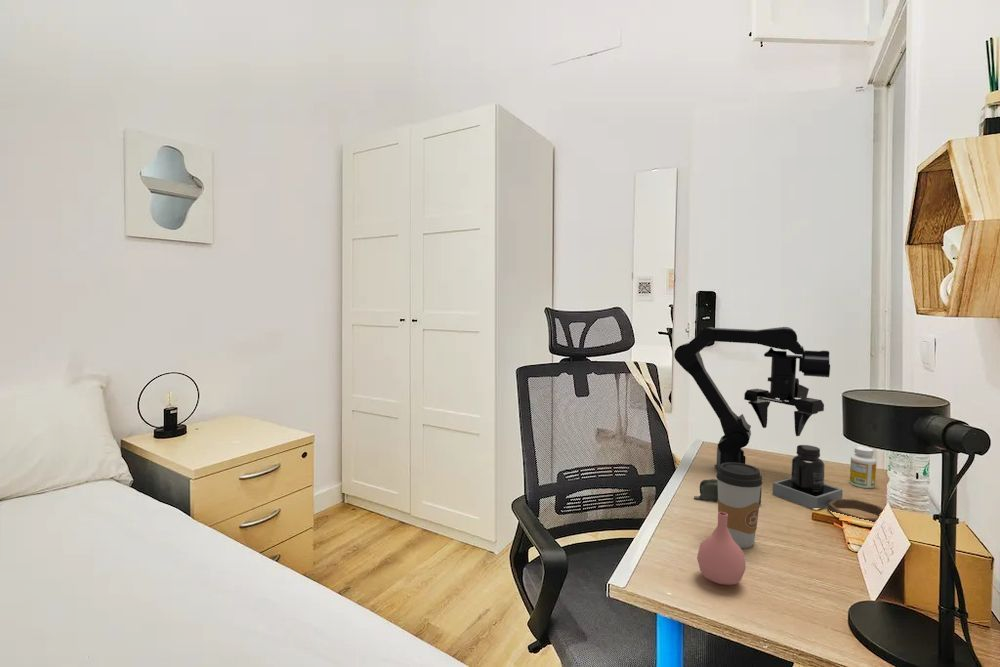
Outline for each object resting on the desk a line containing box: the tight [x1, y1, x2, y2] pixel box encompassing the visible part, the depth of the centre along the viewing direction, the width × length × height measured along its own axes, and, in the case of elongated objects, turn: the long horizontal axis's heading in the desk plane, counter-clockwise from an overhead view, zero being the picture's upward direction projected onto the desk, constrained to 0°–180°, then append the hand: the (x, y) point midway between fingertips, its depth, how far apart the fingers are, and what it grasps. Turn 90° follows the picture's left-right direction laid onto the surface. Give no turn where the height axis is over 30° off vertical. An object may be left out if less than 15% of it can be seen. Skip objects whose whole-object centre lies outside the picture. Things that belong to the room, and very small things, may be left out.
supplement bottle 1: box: [790, 444, 825, 497], centre depth 121 cm, size 7×7×12 cm
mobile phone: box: [693, 478, 762, 506], centre depth 119 cm, size 5×3×15 cm
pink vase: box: [696, 511, 747, 586], centre depth 85 cm, size 8×8×12 cm
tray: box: [771, 477, 844, 510], centre depth 121 cm, size 11×11×3 cm
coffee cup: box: [715, 462, 763, 549], centre depth 99 cm, size 8×8×15 cm
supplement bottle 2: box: [849, 446, 877, 489], centre depth 129 cm, size 5×5×10 cm
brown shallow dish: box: [827, 498, 884, 522], centre depth 111 cm, size 11×11×2 cm
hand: (780, 431), depth 133 cm, fingers open, 9 cm apart
